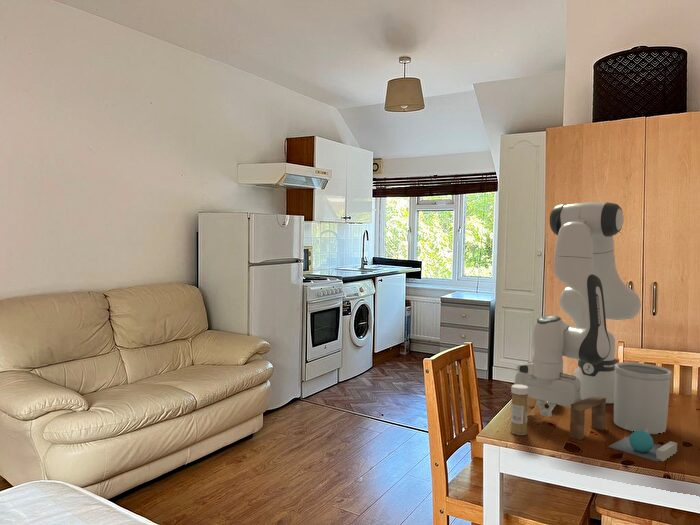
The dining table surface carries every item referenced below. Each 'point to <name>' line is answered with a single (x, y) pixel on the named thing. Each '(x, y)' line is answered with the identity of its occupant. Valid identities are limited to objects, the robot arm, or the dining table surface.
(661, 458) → the stopper wall
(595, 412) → the bridge
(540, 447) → the dining table surface
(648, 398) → the utensil holder
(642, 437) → the ball
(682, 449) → the dining table surface
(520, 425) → the sprinkles bottle
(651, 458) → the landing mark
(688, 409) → the dining table surface
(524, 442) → the dining table surface
